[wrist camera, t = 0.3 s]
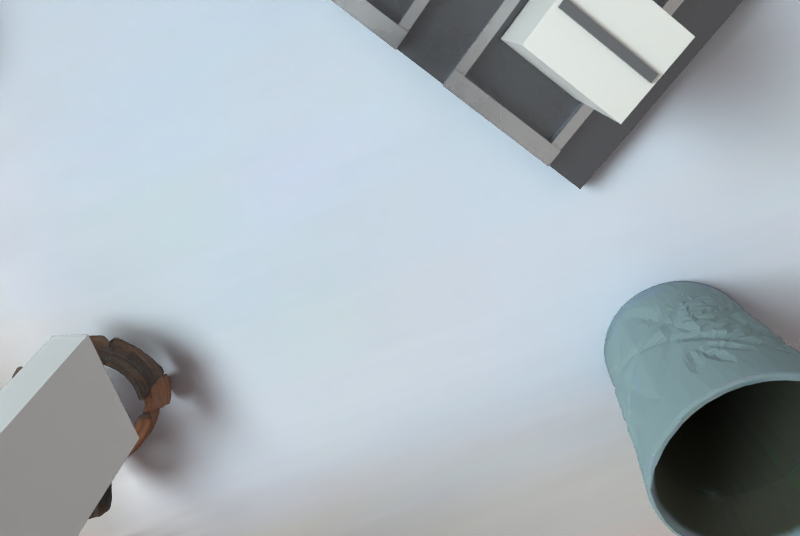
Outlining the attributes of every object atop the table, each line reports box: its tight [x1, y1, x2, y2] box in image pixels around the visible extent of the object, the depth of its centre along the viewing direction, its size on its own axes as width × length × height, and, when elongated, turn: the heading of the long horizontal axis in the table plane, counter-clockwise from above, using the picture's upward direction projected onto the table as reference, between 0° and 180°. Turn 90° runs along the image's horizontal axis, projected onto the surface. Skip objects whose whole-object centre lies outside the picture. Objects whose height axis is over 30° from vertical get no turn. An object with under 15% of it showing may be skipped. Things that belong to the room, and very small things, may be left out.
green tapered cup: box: [604, 281, 800, 536], centre depth 35 cm, size 10×10×12 cm
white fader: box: [501, 0, 695, 124], centre depth 28 cm, size 4×5×9 cm
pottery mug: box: [12, 336, 171, 519], centre depth 41 cm, size 12×10×8 cm
